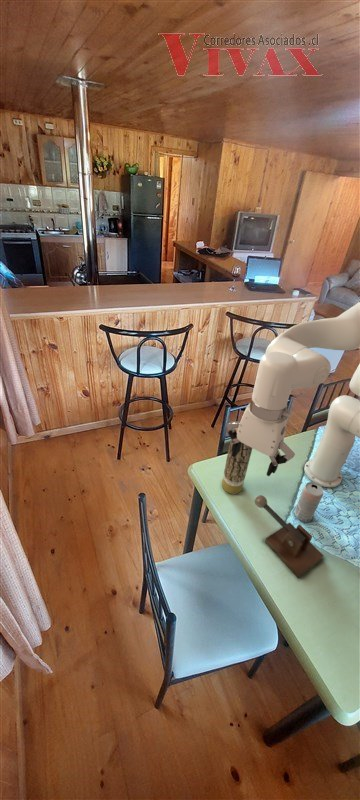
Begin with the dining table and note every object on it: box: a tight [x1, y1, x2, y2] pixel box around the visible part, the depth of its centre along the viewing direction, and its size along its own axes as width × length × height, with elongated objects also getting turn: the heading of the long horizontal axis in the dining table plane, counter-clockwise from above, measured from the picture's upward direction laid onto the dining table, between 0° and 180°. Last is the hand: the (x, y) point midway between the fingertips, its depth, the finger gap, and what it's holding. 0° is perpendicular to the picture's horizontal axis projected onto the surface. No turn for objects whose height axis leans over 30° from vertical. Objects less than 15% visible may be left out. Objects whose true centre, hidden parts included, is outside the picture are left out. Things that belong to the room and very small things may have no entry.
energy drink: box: [294, 481, 324, 523], centre depth 98 cm, size 5×5×12 cm
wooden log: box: [221, 428, 253, 495], centre depth 102 cm, size 7×7×25 cm
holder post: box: [254, 494, 306, 544], centre depth 93 cm, size 17×4×4 cm, turn 33°
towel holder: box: [264, 522, 325, 579], centre depth 89 cm, size 12×10×7 cm
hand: (252, 463), depth 82 cm, fingers open, 9 cm apart
